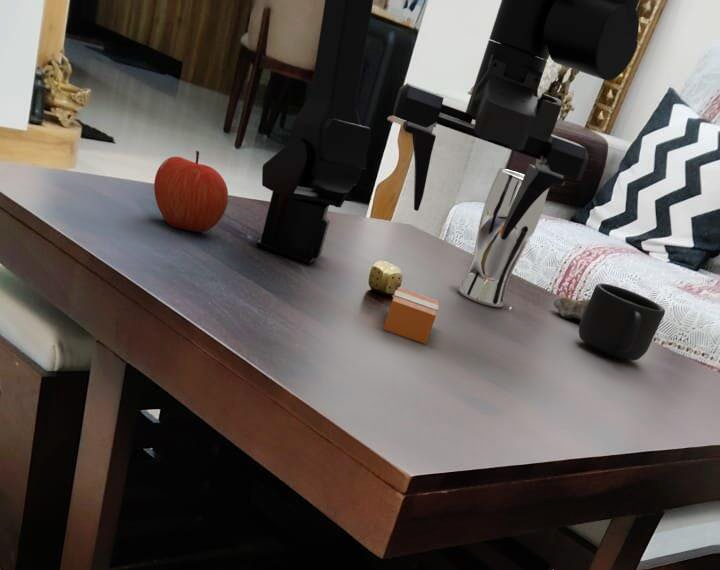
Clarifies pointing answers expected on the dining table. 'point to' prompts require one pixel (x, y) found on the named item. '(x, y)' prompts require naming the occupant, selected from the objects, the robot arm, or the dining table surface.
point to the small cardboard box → (411, 315)
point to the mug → (619, 323)
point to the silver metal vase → (499, 241)
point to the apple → (190, 194)
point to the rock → (571, 307)
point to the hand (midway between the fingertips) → (459, 224)
